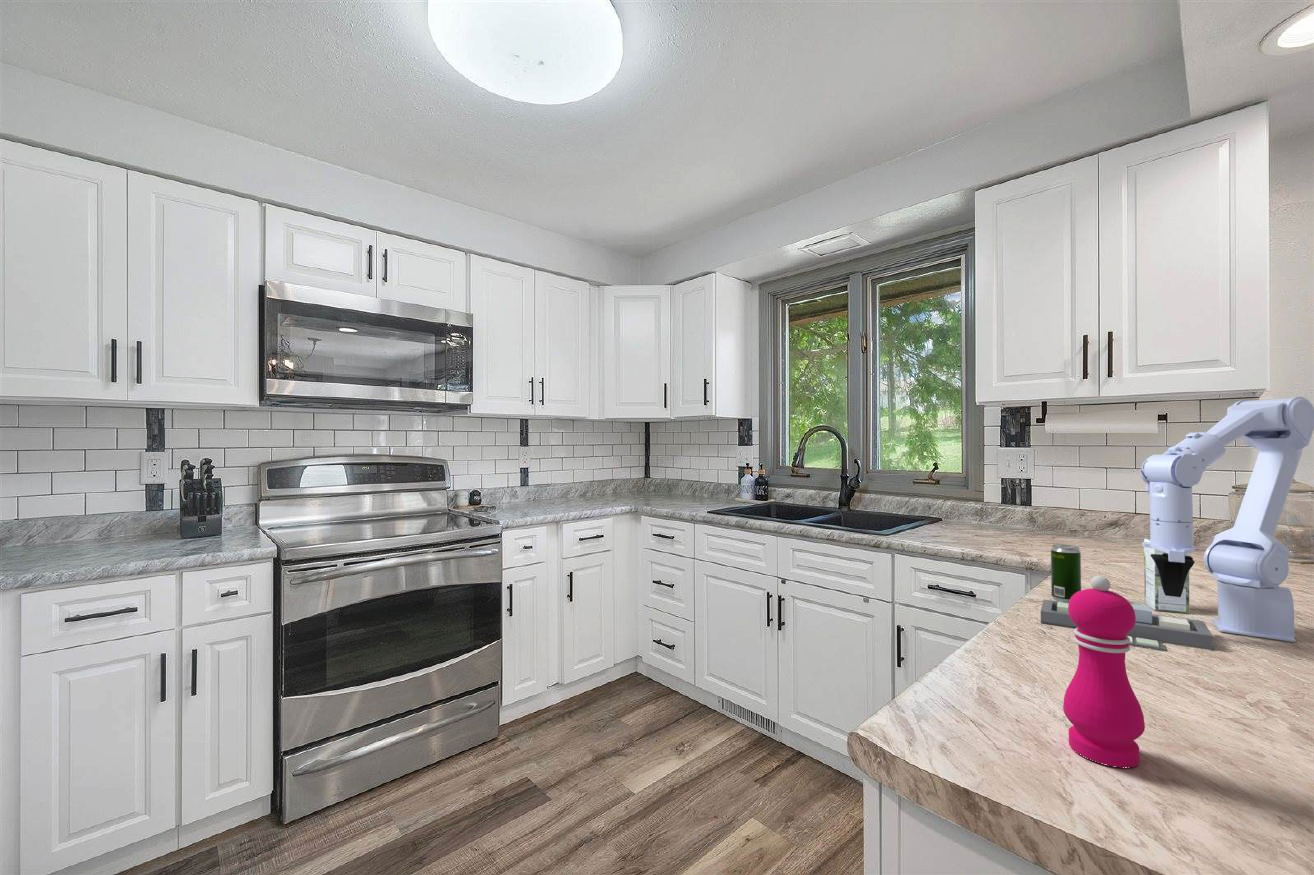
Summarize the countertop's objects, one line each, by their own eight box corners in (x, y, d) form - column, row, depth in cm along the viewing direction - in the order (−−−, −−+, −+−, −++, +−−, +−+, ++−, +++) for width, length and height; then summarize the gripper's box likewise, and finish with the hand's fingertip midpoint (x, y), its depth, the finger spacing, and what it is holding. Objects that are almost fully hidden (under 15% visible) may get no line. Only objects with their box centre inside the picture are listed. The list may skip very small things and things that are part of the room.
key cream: (1186, 631, 101) (1186, 619, 101) (1190, 637, 98) (1189, 625, 98) (1157, 627, 103) (1157, 615, 103) (1159, 633, 100) (1159, 620, 100)
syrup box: (1178, 607, 119) (1177, 538, 119) (1190, 614, 113) (1189, 543, 114) (1144, 603, 121) (1143, 537, 121) (1154, 611, 116) (1153, 541, 116)
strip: (1162, 645, 96) (1162, 640, 96) (1164, 651, 93) (1164, 647, 94) (1082, 632, 103) (1082, 628, 103) (1082, 637, 100) (1082, 633, 100)
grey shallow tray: (1203, 634, 102) (1203, 621, 102) (1213, 650, 94) (1213, 636, 94) (1043, 610, 116) (1043, 599, 116) (1040, 623, 108) (1040, 610, 108)
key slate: (1150, 618, 104) (1149, 606, 104) (1152, 623, 101) (1151, 611, 101) (1122, 614, 106) (1121, 602, 106) (1123, 619, 103) (1123, 607, 103)
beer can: (1075, 604, 121) (1074, 549, 121) (1047, 599, 125) (1046, 545, 125) (1085, 600, 124) (1084, 546, 124) (1057, 595, 128) (1056, 543, 128)
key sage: (1082, 616, 110) (1082, 605, 110) (1082, 621, 107) (1082, 610, 107) (1057, 612, 112) (1057, 601, 112) (1057, 617, 109) (1056, 606, 109)
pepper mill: (1048, 738, 66) (1045, 569, 66) (1104, 735, 67) (1101, 568, 67) (1101, 774, 59) (1098, 584, 59) (1164, 770, 60) (1160, 583, 60)
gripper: (1138, 514, 109) (1140, 584, 109) (1145, 523, 97) (1146, 601, 97) (1188, 517, 105) (1189, 589, 104) (1201, 526, 93) (1202, 608, 93)
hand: (1172, 595), depth 101 cm, fingers closed
